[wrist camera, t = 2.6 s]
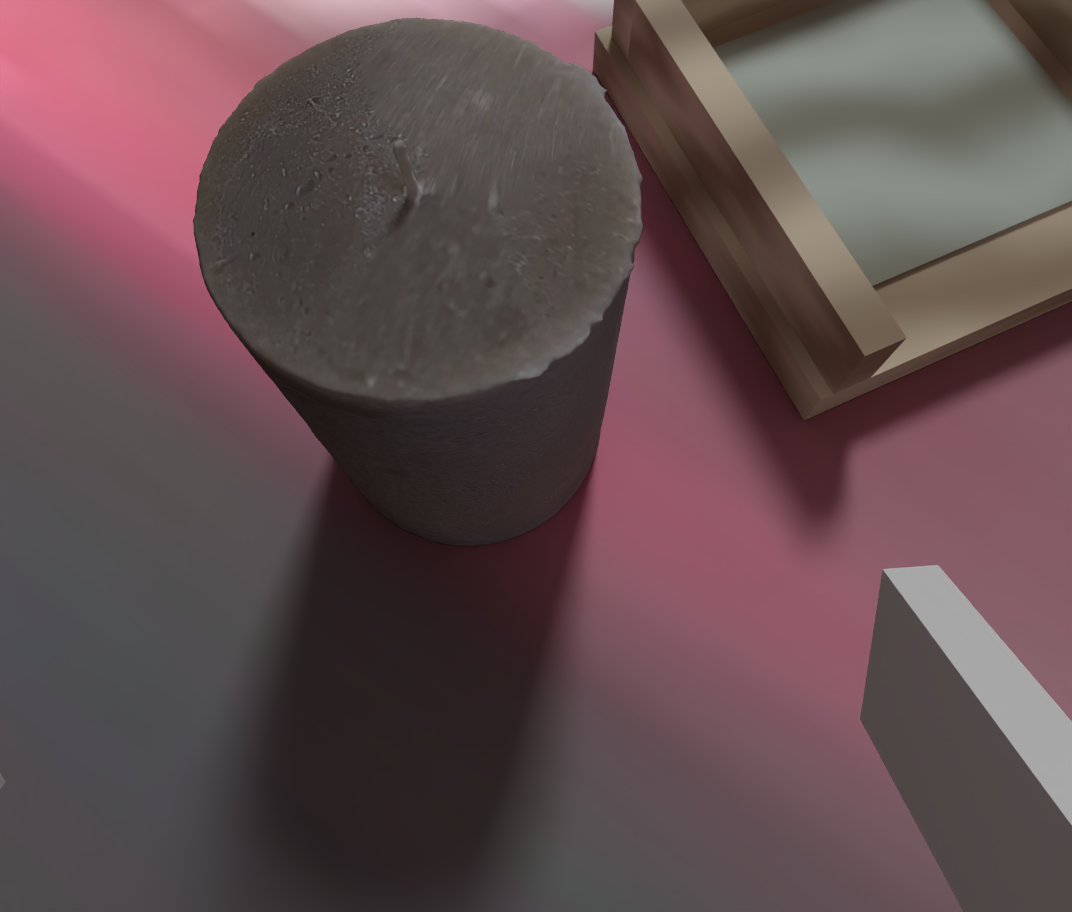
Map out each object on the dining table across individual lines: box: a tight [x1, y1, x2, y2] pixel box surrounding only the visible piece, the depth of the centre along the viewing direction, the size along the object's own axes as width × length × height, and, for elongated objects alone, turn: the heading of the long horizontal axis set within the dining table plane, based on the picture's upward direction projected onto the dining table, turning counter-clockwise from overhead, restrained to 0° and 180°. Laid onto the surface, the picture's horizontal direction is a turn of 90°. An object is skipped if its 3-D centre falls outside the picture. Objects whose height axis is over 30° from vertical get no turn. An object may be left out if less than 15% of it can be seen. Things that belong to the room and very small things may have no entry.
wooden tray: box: [593, 0, 1072, 420], centre depth 31 cm, size 18×18×5 cm
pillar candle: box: [193, 18, 643, 546], centre depth 23 cm, size 10×10×15 cm
